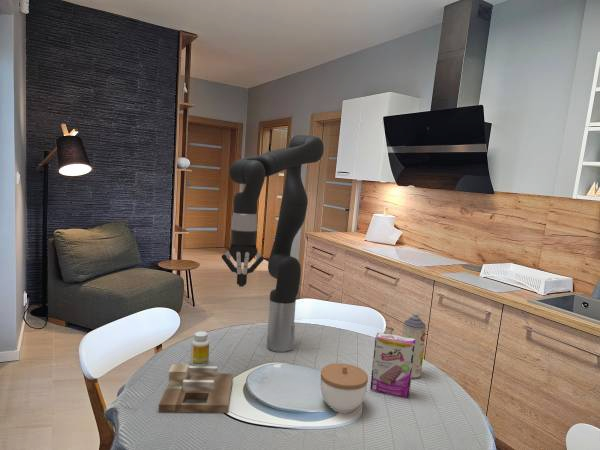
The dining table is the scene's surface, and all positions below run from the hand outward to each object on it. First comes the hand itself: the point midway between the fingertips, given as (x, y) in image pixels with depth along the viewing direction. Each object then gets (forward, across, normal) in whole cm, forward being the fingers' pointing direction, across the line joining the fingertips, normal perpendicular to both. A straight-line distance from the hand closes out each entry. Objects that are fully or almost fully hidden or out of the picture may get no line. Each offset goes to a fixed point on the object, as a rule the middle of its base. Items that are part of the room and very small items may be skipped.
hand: (241, 285), depth 123 cm
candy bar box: (+27, -45, +10) cm, 54 cm away
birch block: (+25, +15, +10) cm, 31 cm away
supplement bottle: (+27, +12, -6) cm, 30 cm away
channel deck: (+27, +10, +14) cm, 32 cm away
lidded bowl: (+27, -29, +18) cm, 44 cm away
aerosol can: (+27, -55, -1) cm, 61 cm away
